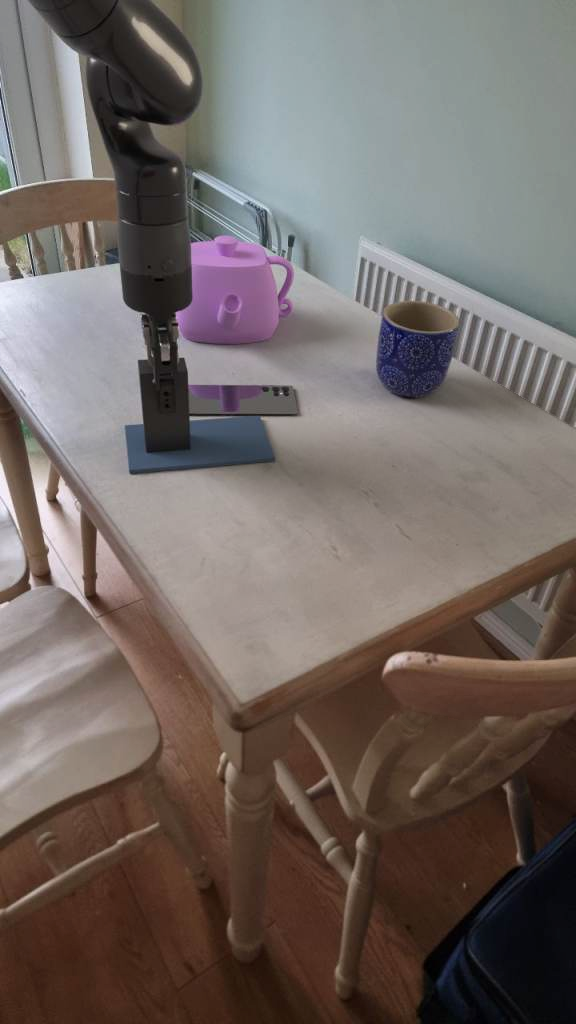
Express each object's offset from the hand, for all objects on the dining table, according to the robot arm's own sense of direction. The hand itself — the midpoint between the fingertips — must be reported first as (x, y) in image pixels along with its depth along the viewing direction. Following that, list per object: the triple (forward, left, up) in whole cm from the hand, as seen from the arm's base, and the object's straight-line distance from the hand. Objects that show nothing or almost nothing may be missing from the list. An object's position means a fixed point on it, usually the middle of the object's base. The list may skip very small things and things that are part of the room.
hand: (164, 397), depth 84 cm
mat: (+4, 0, -7) cm, 8 cm away
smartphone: (+11, +10, -7) cm, 17 cm away
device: (0, 0, -7) cm, 7 cm away
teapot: (+13, +33, -7) cm, 36 cm away
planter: (+37, +11, -7) cm, 39 cm away
